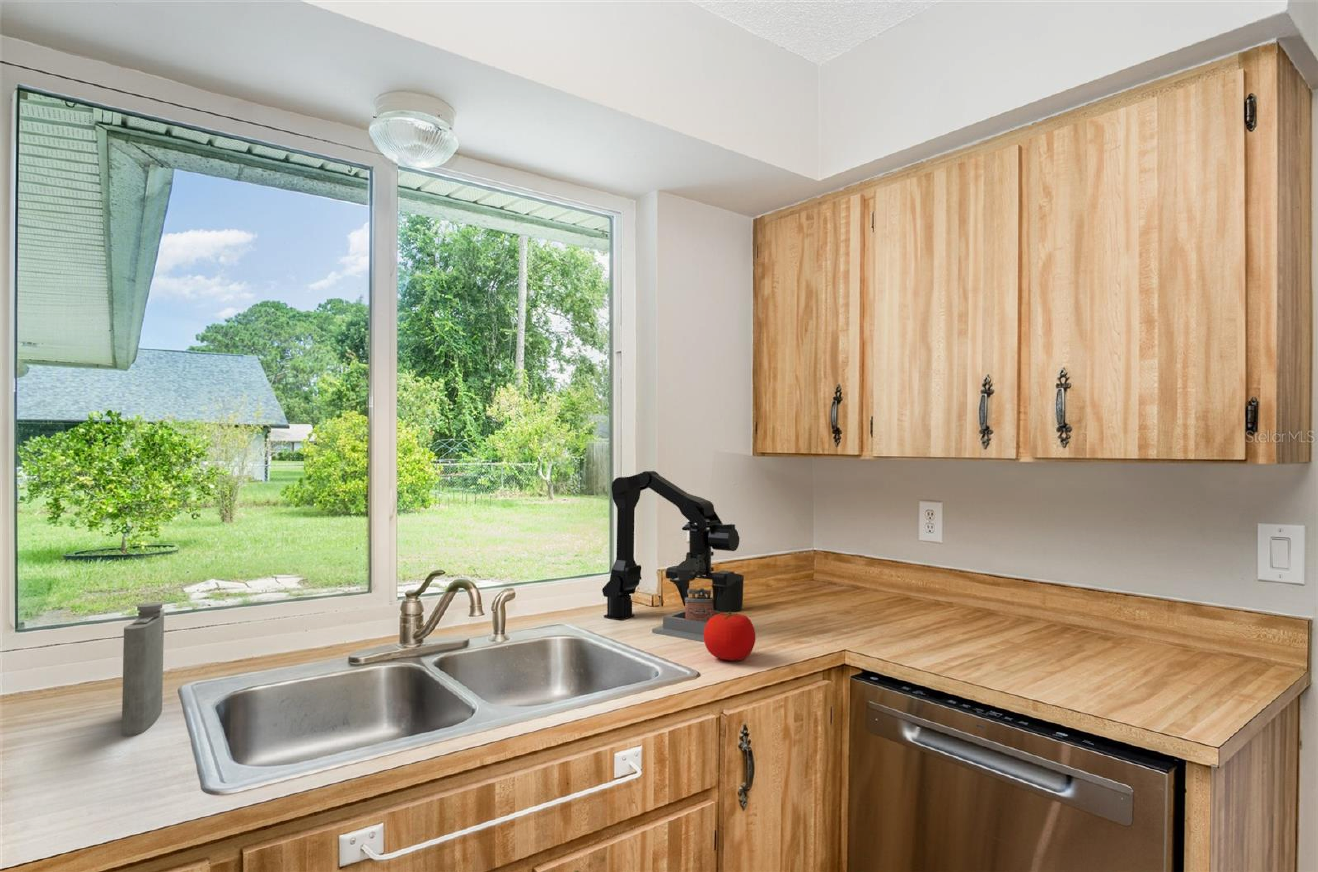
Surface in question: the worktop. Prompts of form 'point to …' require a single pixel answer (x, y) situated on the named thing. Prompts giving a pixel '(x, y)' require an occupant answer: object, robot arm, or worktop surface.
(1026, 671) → the worktop surface
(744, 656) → the tomato
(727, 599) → the pen holder
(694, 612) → the lighter
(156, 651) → the hip flask
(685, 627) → the stand
